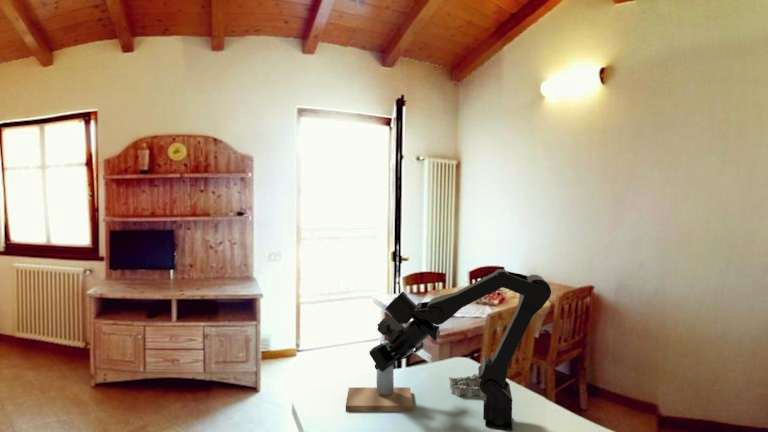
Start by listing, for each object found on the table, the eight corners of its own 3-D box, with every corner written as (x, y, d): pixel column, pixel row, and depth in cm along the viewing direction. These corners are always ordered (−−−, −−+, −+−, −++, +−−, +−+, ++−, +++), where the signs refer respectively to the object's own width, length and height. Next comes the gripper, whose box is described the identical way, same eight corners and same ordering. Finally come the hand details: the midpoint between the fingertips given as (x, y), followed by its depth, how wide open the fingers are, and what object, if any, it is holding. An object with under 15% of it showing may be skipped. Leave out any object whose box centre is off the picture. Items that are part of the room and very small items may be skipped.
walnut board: (410, 392, 114) (410, 387, 114) (412, 411, 104) (412, 405, 104) (348, 392, 114) (348, 387, 114) (345, 411, 104) (345, 405, 104)
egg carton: (484, 386, 118) (484, 373, 118) (488, 399, 111) (488, 385, 111) (448, 384, 119) (449, 371, 119) (450, 396, 112) (450, 382, 112)
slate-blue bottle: (395, 387, 112) (395, 339, 112) (391, 395, 108) (391, 345, 107) (379, 385, 113) (378, 338, 113) (374, 393, 109) (374, 344, 108)
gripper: (414, 302, 115) (385, 332, 122) (374, 318, 100) (343, 350, 107) (438, 334, 110) (406, 363, 117) (400, 355, 95) (366, 386, 102)
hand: (381, 364), depth 111 cm, fingers closed on slate-blue bottle, 5 cm apart
